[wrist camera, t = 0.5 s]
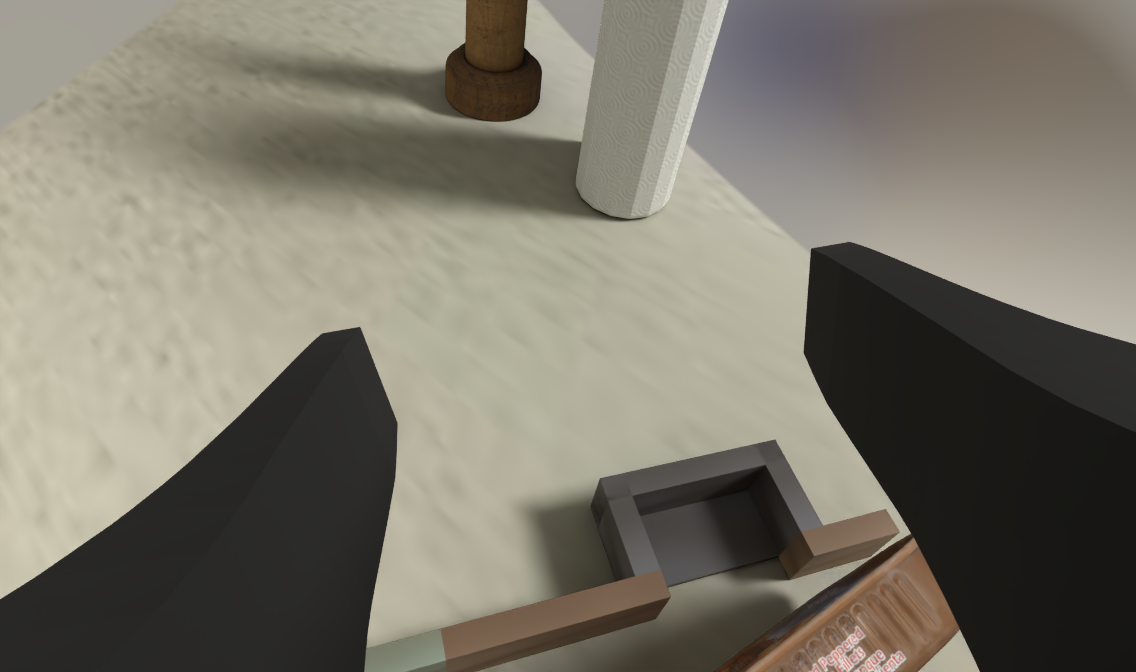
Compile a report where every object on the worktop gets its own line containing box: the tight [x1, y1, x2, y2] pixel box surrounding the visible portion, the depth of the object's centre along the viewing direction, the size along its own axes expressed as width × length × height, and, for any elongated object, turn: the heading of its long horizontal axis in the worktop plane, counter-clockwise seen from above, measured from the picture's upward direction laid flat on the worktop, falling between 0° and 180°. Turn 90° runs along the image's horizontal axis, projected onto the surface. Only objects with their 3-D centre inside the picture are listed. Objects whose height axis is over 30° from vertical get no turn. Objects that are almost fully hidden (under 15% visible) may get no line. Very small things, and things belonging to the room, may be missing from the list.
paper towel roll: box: [575, 0, 728, 219], centre depth 35 cm, size 7×6×21 cm
